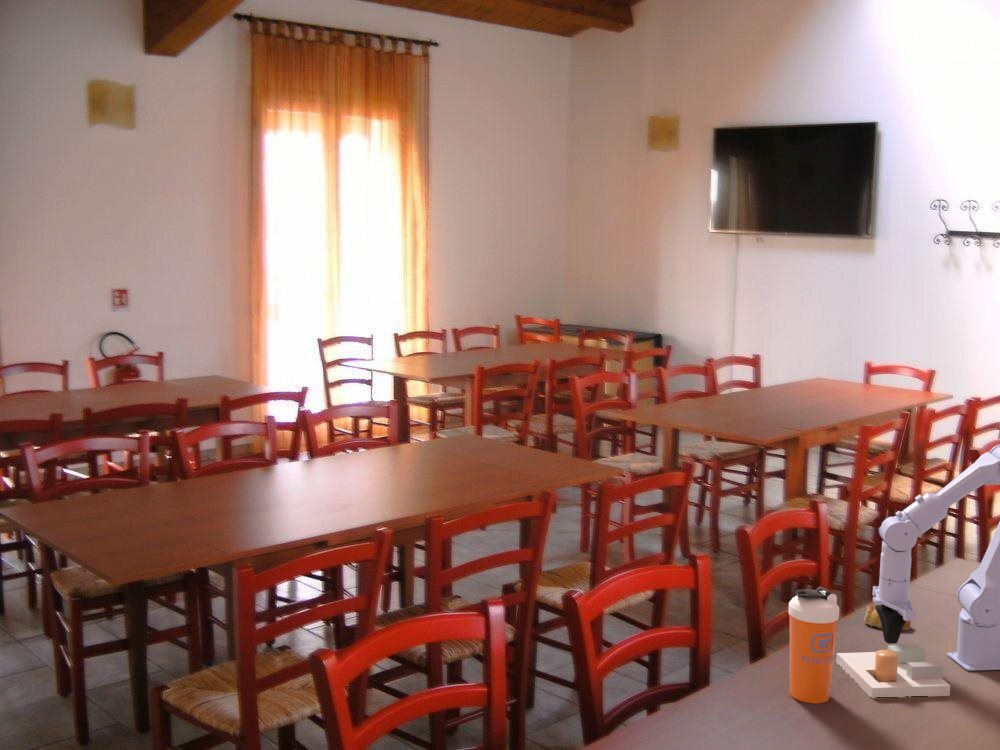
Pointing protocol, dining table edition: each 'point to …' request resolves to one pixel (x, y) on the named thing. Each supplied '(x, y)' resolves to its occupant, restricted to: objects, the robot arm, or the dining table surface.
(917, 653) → the block
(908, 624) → the pastry
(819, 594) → the shaker bottle
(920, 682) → the housing
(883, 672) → the peg
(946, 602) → the dining table surface
